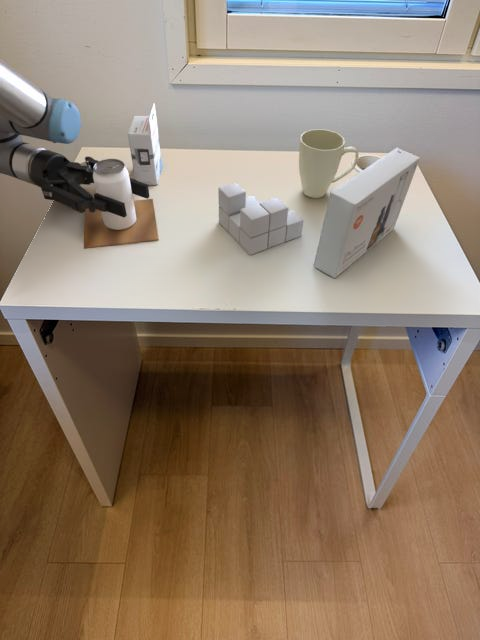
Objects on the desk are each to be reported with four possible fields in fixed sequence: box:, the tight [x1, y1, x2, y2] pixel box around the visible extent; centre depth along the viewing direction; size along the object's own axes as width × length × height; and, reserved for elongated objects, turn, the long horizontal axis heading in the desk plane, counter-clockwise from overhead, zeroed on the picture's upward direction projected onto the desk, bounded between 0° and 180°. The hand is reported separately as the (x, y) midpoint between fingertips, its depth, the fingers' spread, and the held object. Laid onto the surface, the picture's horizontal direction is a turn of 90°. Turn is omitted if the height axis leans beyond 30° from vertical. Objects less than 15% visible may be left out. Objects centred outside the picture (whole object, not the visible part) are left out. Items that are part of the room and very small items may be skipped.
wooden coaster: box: [83, 198, 160, 249], centre depth 93 cm, size 14×14×1 cm
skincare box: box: [313, 147, 421, 279], centre depth 84 cm, size 21×5×16 cm, turn 137°
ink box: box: [127, 102, 163, 186], centre depth 100 cm, size 9×5×15 cm, turn 179°
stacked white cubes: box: [217, 182, 305, 256], centre depth 90 cm, size 12×12×8 cm
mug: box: [298, 128, 359, 199], centre depth 98 cm, size 11×10×12 cm
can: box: [93, 158, 136, 230], centre depth 89 cm, size 6×6×12 cm
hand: (136, 200), depth 87 cm, fingers closed on can, 6 cm apart
